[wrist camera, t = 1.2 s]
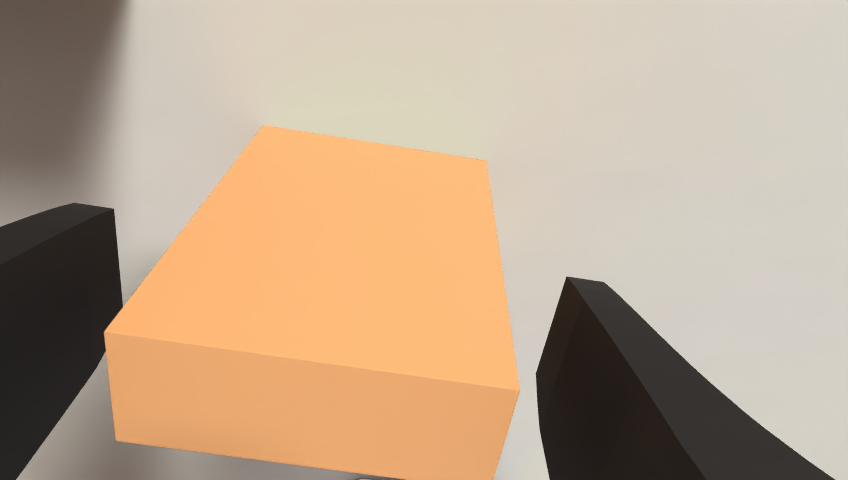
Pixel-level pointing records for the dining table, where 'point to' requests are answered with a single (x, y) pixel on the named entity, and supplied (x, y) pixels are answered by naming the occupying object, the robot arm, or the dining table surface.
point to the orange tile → (326, 316)
